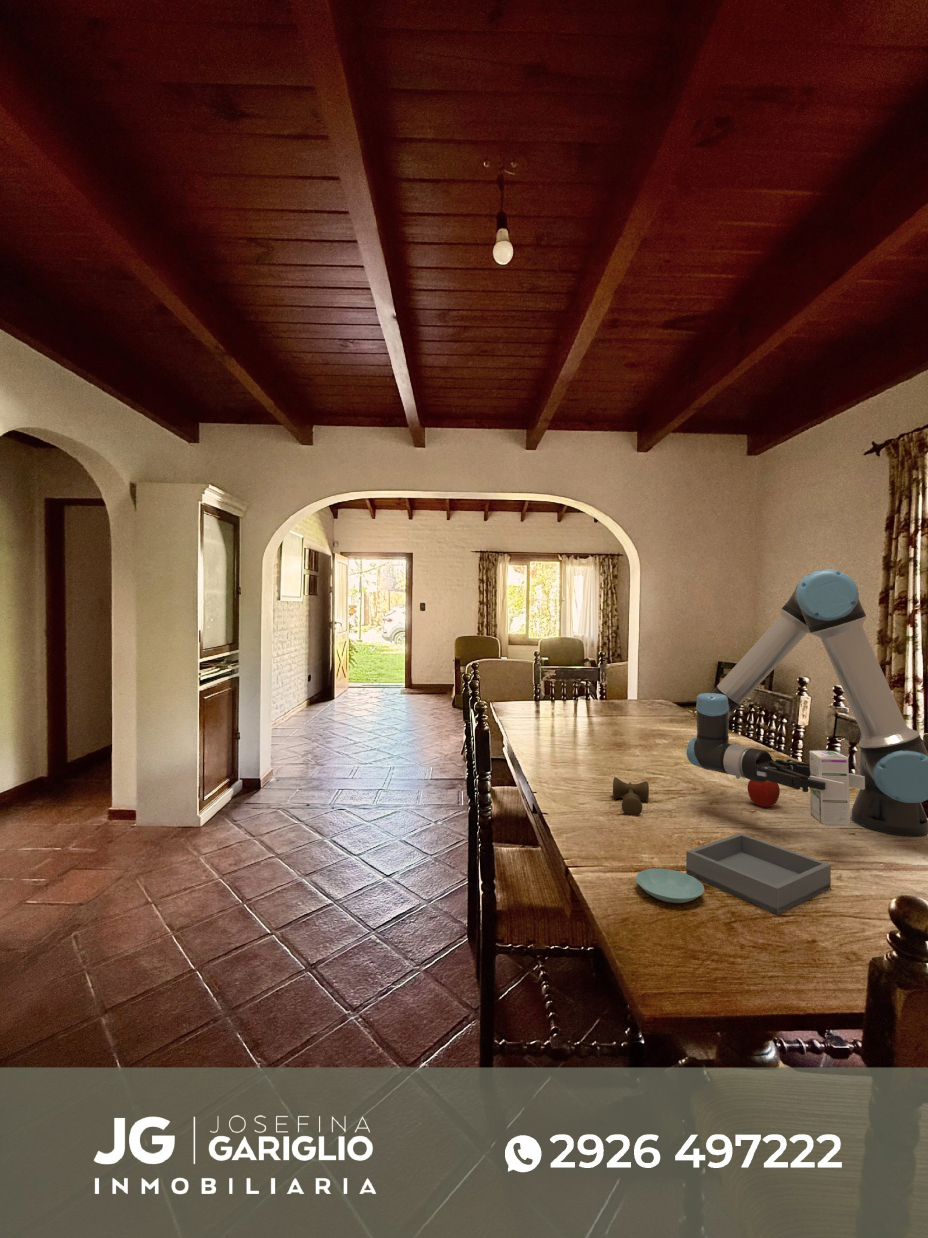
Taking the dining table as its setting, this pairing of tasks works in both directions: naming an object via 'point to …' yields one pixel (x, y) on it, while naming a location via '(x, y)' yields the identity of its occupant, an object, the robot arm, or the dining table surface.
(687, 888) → the saucer
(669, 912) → the dining table surface
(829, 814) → the syrup box
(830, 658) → the robot arm
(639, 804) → the kendama
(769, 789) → the apple
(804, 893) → the tray
